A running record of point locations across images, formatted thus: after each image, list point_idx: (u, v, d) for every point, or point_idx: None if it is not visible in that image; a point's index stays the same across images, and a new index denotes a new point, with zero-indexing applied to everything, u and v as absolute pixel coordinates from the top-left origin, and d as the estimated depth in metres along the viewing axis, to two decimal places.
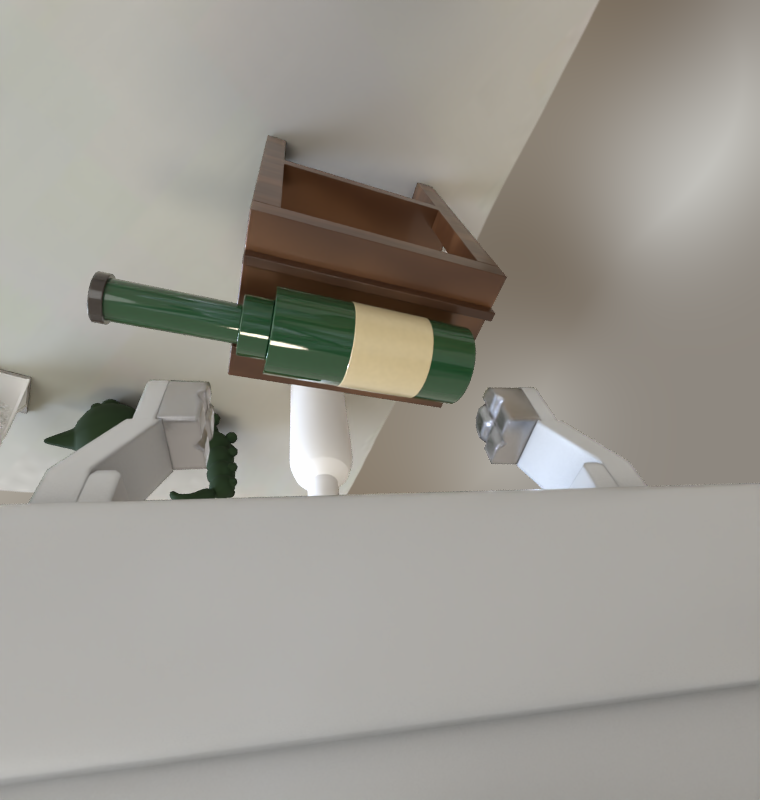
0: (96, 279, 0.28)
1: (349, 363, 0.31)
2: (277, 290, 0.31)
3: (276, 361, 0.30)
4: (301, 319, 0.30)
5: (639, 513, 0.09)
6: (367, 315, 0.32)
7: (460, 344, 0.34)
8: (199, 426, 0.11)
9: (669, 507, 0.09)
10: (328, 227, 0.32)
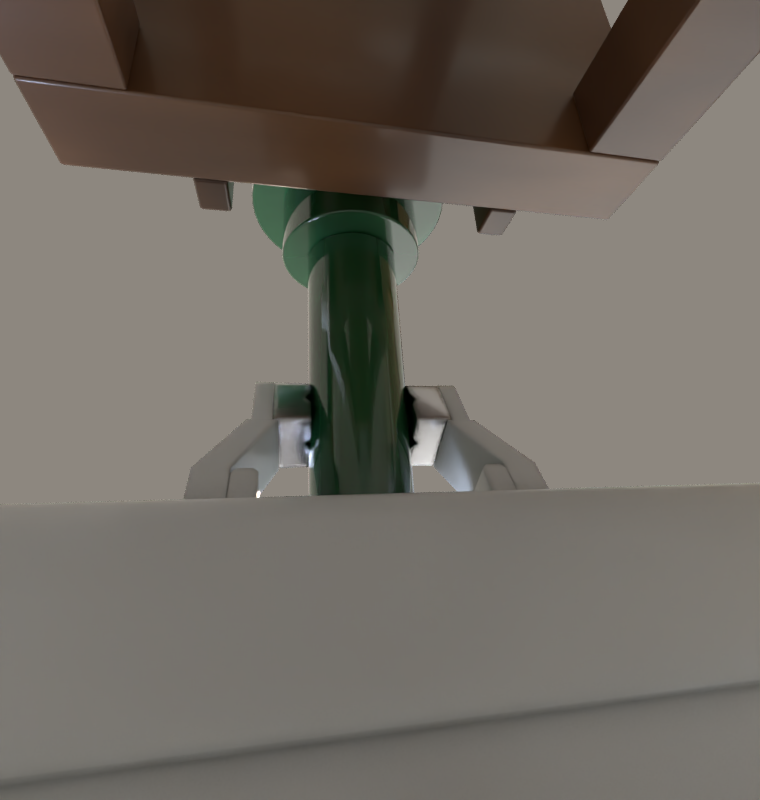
0: None
1: None
2: (438, 218, 0.16)
3: None
4: None
5: (639, 513, 0.09)
6: None
7: None
8: (310, 426, 0.11)
9: (669, 507, 0.09)
10: None
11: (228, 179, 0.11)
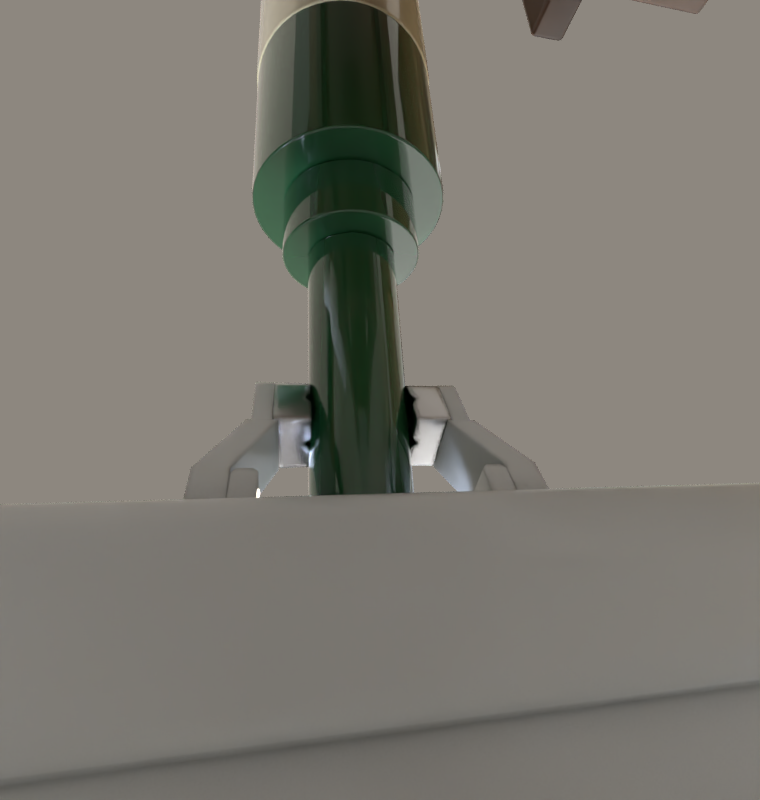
0: None
1: None
2: (438, 218, 0.16)
3: None
4: None
5: (639, 513, 0.09)
6: None
7: None
8: (310, 426, 0.11)
9: (669, 507, 0.09)
10: None
11: None
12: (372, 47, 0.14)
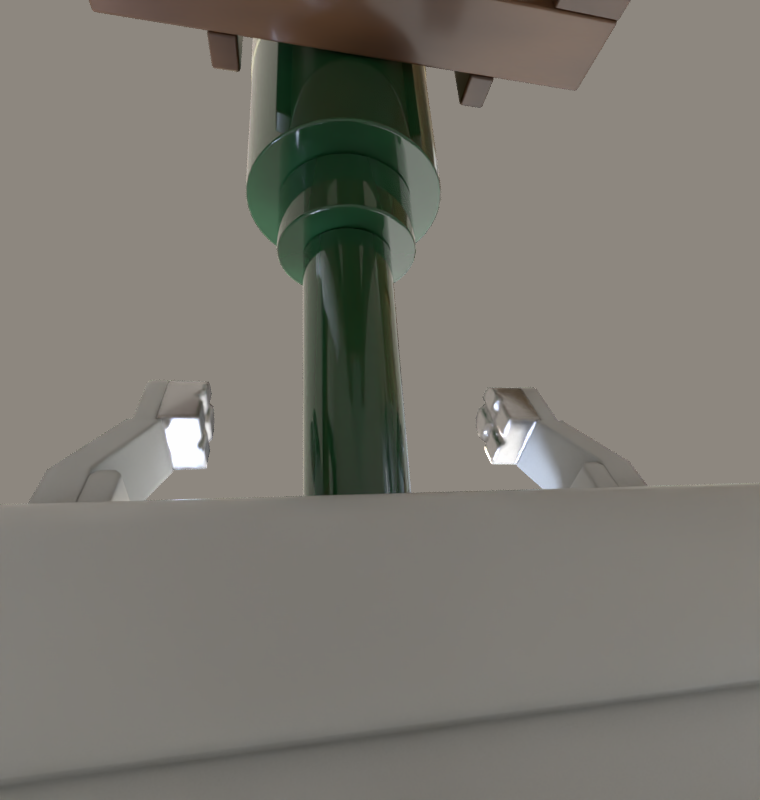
0: None
1: None
2: (434, 216, 0.16)
3: None
4: None
5: (640, 513, 0.09)
6: None
7: None
8: (199, 426, 0.11)
9: (669, 507, 0.09)
10: None
11: (238, 32, 0.12)
12: None
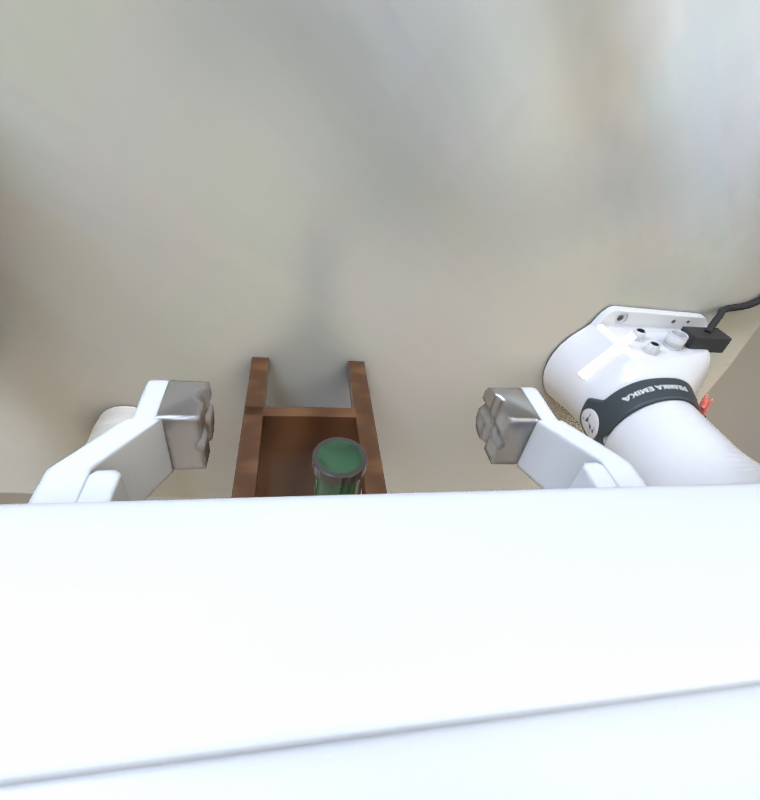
0: (366, 459, 0.27)
1: None
2: None
3: None
4: None
5: (640, 513, 0.09)
6: None
7: None
8: (199, 426, 0.11)
9: (669, 507, 0.09)
10: None
11: None
12: None
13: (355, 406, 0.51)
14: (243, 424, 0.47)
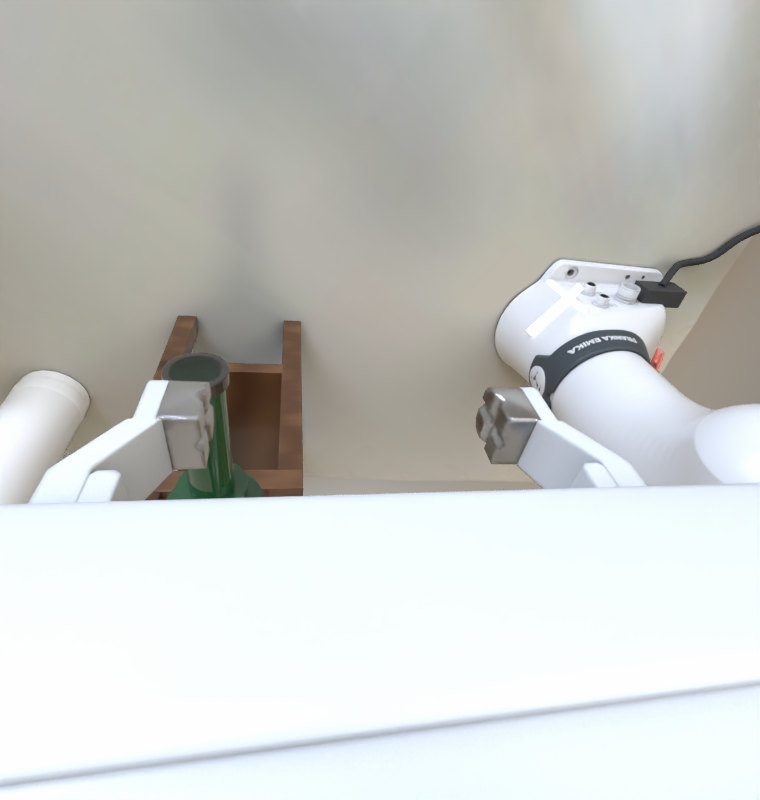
0: (229, 374, 0.24)
1: None
2: (261, 490, 0.32)
3: None
4: None
5: (639, 513, 0.09)
6: None
7: None
8: (199, 426, 0.11)
9: (669, 507, 0.09)
10: None
11: (161, 490, 0.34)
12: None
13: (283, 362, 0.48)
14: (154, 378, 0.43)
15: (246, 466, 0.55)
